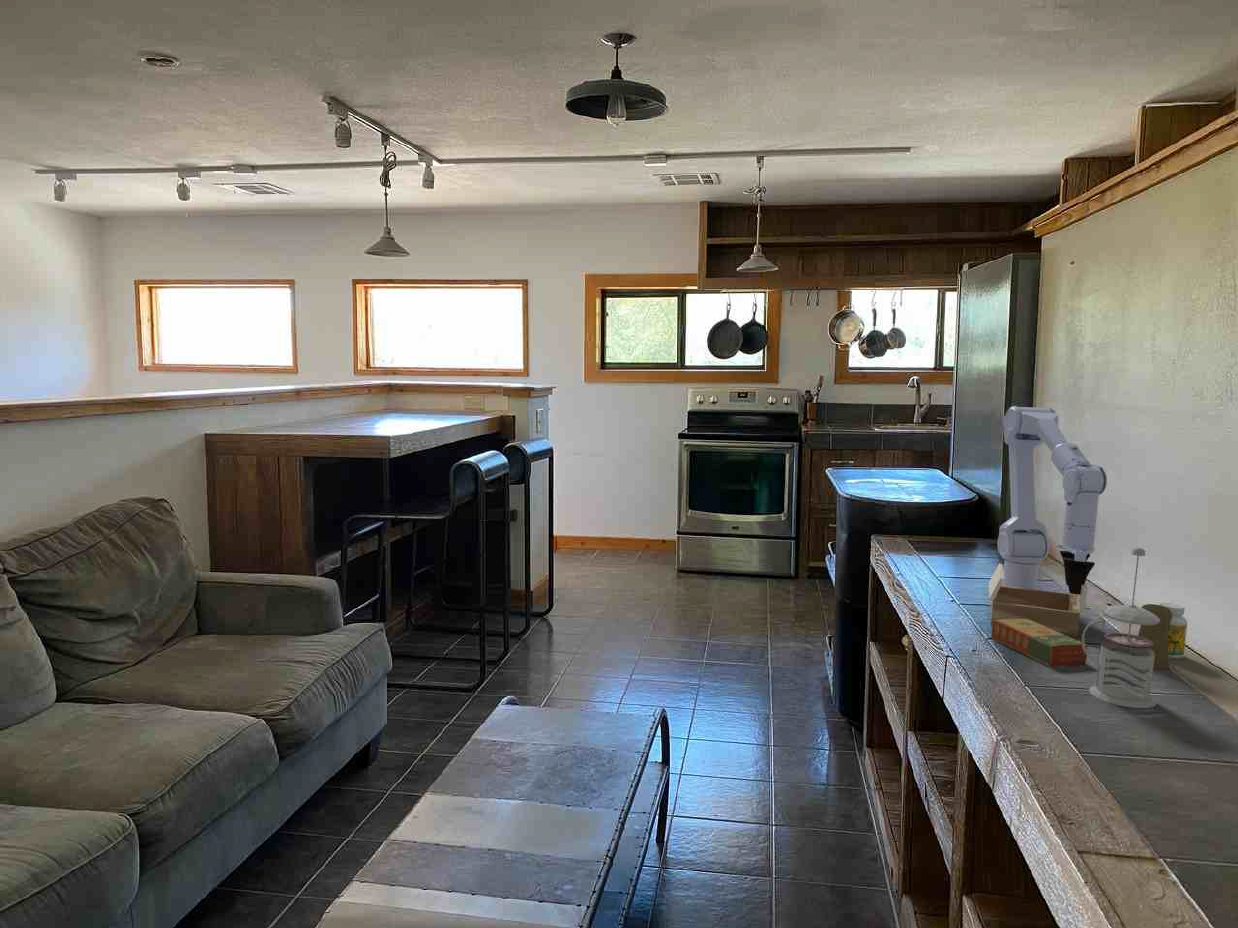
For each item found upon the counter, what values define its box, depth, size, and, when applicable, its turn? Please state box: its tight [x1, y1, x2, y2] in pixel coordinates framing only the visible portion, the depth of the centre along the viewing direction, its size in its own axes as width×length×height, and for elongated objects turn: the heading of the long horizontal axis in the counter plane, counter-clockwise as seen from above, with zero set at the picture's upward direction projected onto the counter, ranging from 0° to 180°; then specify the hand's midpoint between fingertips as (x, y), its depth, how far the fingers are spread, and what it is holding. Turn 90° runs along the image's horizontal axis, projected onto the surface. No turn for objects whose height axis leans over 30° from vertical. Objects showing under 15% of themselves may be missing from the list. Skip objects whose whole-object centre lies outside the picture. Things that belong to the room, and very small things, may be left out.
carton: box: [991, 619, 1088, 667], centre depth 171 cm, size 8×16×4 cm, turn 15°
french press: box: [1081, 547, 1160, 709], centre depth 148 cm, size 10×12×25 cm
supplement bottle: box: [1159, 602, 1188, 660], centre depth 171 cm, size 5×5×10 cm
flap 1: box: [988, 563, 1004, 601], centre depth 192 cm, size 15×5×1 cm
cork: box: [1132, 603, 1172, 671], centre depth 165 cm, size 6×6×11 cm
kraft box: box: [989, 585, 1081, 639], centre depth 190 cm, size 16×16×5 cm
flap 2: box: [1073, 583, 1089, 614], centre depth 186 cm, size 15×5×1 cm
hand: (1073, 589), depth 186 cm, fingers open, 7 cm apart
